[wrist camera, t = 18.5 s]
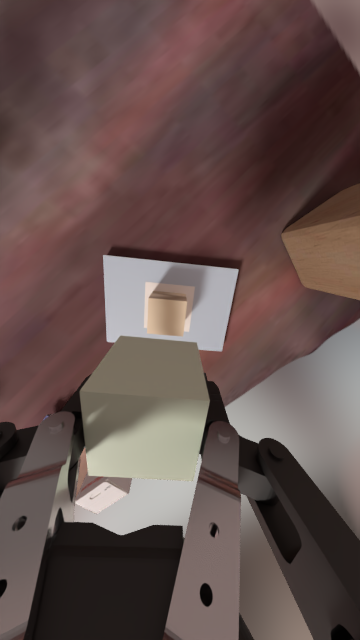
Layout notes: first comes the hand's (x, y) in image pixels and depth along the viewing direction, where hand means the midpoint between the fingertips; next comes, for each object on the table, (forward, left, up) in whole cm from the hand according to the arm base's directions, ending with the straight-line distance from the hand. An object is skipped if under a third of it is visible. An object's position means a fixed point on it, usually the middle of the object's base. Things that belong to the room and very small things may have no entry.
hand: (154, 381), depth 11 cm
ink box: (-8, -30, -19) cm, 37 cm away
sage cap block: (0, 0, -1) cm, 1 cm away
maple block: (0, 0, -18) cm, 18 cm away
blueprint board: (0, 0, -19) cm, 19 cm away
